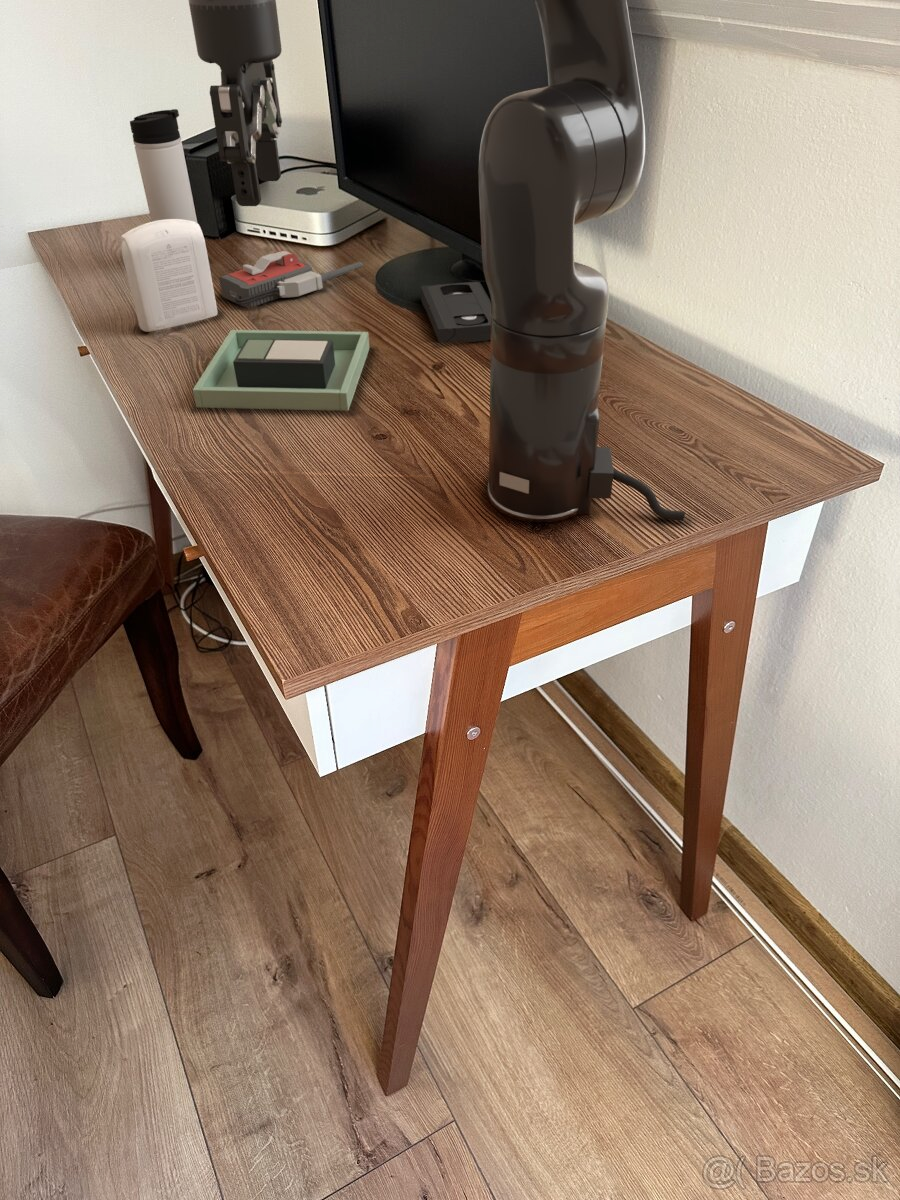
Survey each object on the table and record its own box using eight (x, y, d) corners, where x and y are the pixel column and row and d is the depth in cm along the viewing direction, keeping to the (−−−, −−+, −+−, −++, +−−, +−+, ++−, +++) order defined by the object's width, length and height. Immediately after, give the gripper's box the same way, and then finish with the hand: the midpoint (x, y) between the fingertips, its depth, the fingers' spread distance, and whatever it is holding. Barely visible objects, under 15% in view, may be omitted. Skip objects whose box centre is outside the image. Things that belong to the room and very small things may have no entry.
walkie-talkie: (249, 317, 115) (367, 276, 125) (243, 283, 112) (365, 244, 122) (212, 299, 120) (329, 261, 130) (205, 266, 117) (326, 229, 127)
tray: (369, 350, 106) (368, 331, 105) (348, 413, 95) (346, 393, 93) (234, 348, 108) (231, 329, 106) (196, 410, 96) (192, 389, 94)
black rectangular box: (335, 364, 103) (332, 338, 101) (325, 388, 98) (322, 362, 96) (250, 363, 103) (246, 337, 101) (237, 386, 99) (232, 360, 97)
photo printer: (211, 307, 118) (192, 209, 110) (224, 317, 115) (205, 218, 107) (135, 325, 113) (109, 225, 105) (146, 336, 111) (121, 234, 103)
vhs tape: (502, 339, 108) (503, 323, 107) (439, 345, 107) (438, 329, 106) (479, 295, 119) (479, 280, 118) (421, 300, 118) (420, 285, 117)
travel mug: (201, 270, 128) (171, 115, 115) (156, 271, 128) (120, 116, 115) (211, 255, 133) (182, 105, 120) (167, 255, 133) (134, 106, 120)
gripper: (253, 6, 72) (281, 215, 82) (291, -15, 83) (311, 172, 93) (163, 7, 72) (202, 214, 83) (212, -14, 83) (241, 172, 94)
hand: (260, 192), depth 88 cm, fingers open, 8 cm apart
